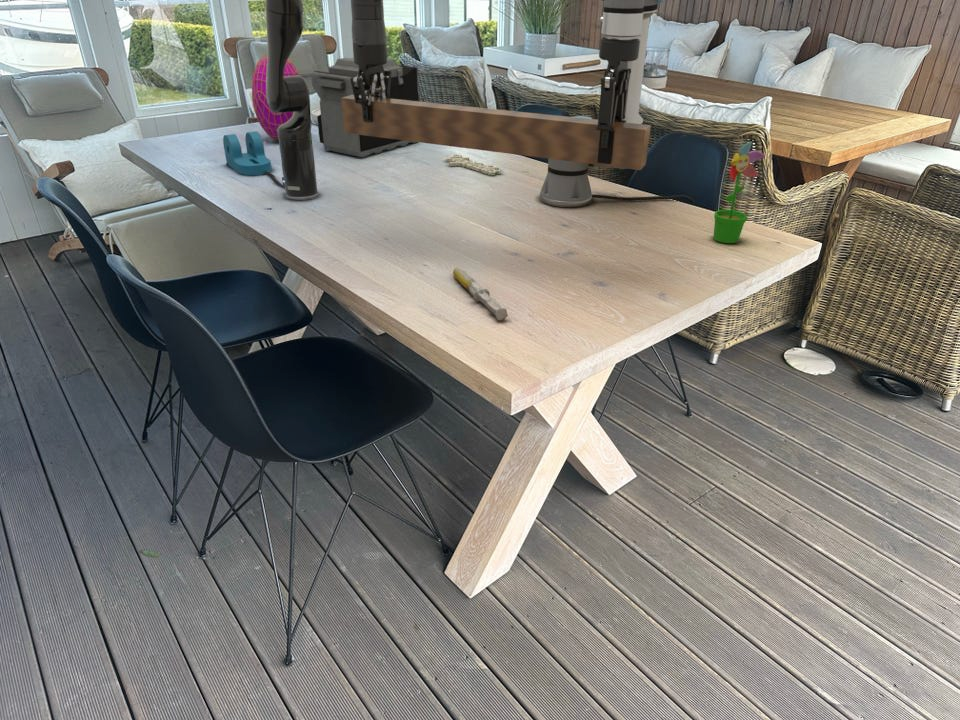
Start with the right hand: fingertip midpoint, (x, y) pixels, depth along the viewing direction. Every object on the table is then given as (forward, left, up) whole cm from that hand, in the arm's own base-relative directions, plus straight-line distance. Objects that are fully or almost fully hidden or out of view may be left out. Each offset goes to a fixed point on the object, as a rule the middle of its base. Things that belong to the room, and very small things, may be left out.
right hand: (607, 159), depth 143 cm
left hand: (+57, 0, +3) cm, 57 cm away
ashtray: (+147, -109, -26) cm, 185 cm away
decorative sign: (+65, -69, -26) cm, 99 cm away
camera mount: (+129, -34, -26) cm, 136 cm away
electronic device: (+111, -79, -26) cm, 139 cm away
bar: (+28, 0, -1) cm, 29 cm away
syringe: (+19, +23, -26) cm, 39 cm away
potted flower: (-24, -36, -26) cm, 50 cm away
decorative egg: (+146, -71, -26) cm, 164 cm away
